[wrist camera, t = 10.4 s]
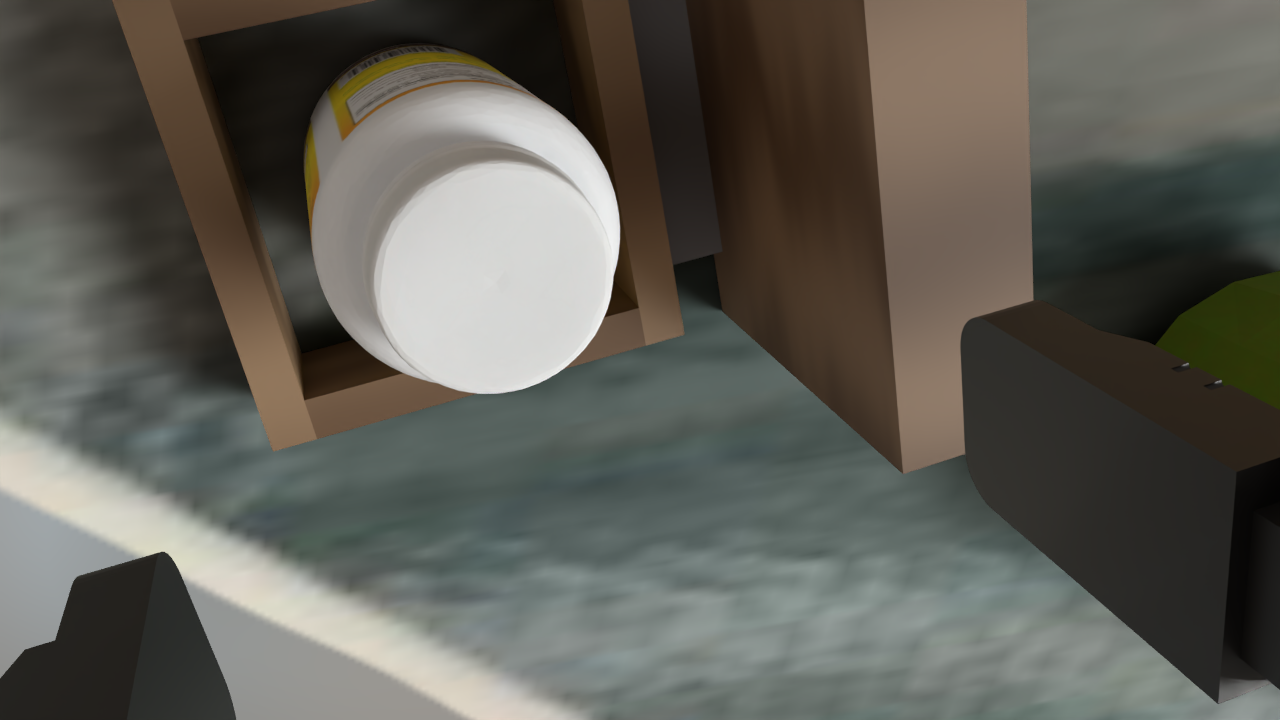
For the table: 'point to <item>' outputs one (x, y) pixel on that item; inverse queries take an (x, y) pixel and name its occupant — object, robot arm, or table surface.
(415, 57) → the supplement bottle
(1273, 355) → the apple
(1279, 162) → the table surface
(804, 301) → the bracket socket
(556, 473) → the table surface
